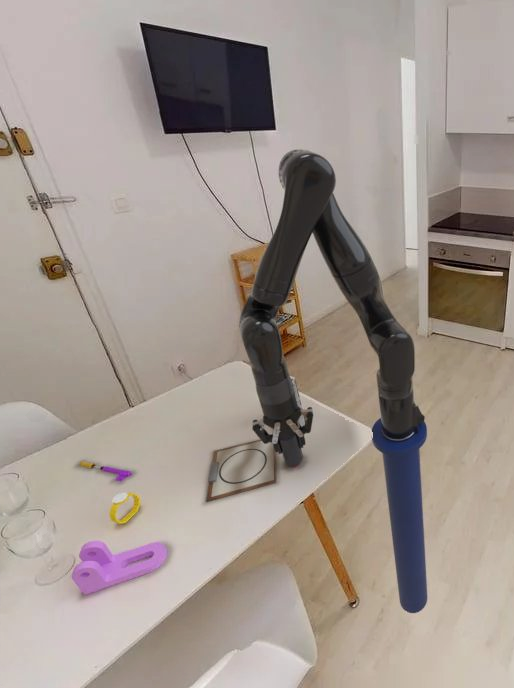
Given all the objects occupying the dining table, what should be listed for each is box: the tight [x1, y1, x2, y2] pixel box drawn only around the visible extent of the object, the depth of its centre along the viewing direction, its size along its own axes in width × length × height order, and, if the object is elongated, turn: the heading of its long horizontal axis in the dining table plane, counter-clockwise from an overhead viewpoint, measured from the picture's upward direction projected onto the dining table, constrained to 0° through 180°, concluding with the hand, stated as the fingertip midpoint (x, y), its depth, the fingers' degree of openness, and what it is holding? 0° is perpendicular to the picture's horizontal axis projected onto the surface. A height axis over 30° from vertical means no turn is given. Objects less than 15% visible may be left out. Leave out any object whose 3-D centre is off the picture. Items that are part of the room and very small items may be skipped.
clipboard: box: [205, 439, 277, 503], centre depth 100 cm, size 15×16×1 cm
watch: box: [109, 492, 141, 525], centre depth 88 cm, size 6×3×6 cm, turn 169°
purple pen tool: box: [78, 461, 132, 482], centre depth 100 cm, size 3×1×16 cm
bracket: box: [70, 540, 168, 596], centre depth 78 cm, size 13×6×7 cm, turn 112°
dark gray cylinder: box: [278, 429, 304, 468], centre depth 99 cm, size 4×4×10 cm
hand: (291, 448), depth 99 cm, fingers closed on dark gray cylinder, 4 cm apart
